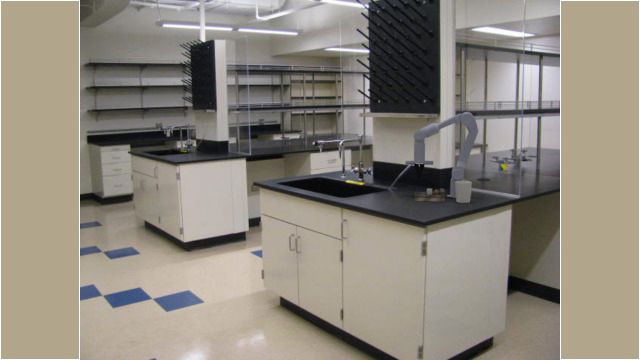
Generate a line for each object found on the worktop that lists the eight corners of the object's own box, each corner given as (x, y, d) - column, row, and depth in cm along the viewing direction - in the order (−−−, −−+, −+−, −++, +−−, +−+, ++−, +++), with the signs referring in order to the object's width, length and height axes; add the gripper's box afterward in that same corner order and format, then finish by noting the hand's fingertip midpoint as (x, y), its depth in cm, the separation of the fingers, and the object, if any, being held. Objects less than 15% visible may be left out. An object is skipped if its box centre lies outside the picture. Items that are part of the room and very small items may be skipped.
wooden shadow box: (414, 201, 258) (414, 191, 257) (414, 197, 267) (414, 188, 266) (445, 201, 255) (445, 191, 255) (444, 198, 264) (444, 188, 263)
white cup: (473, 201, 255) (473, 181, 254) (469, 203, 248) (469, 183, 247) (457, 199, 259) (457, 180, 258) (453, 202, 252) (453, 182, 251)
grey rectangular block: (427, 196, 258) (427, 190, 258) (426, 194, 264) (427, 188, 264) (432, 196, 258) (432, 190, 257) (431, 194, 264) (431, 188, 263)
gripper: (405, 153, 266) (405, 179, 268) (433, 153, 263) (433, 179, 265) (405, 152, 273) (405, 177, 275) (433, 152, 270) (433, 177, 272)
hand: (419, 178), depth 270 cm, fingers closed
